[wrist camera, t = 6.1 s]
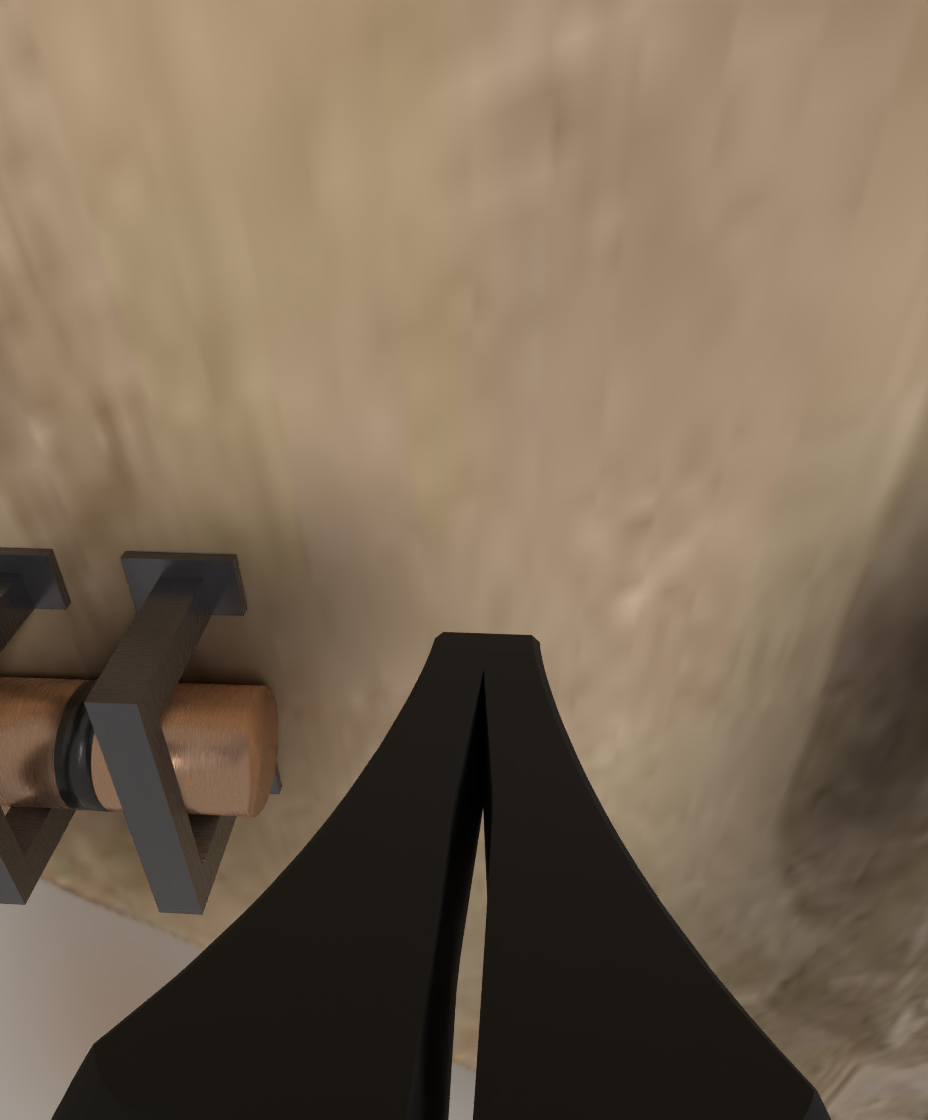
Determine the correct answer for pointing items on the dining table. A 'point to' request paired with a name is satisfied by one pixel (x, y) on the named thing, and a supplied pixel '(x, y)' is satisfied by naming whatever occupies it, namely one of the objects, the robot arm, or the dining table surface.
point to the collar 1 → (3, 605)
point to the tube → (189, 729)
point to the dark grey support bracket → (136, 708)
